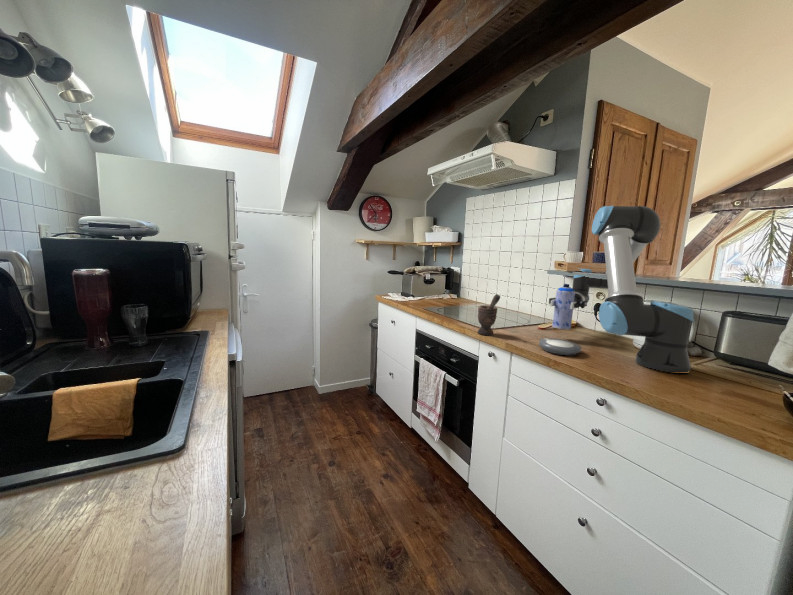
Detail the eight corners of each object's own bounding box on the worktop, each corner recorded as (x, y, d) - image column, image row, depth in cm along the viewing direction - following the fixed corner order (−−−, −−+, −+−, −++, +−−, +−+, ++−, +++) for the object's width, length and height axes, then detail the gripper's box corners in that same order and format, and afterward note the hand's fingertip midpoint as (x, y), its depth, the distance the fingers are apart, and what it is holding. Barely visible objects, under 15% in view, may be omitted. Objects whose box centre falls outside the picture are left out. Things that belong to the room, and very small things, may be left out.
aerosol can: (575, 329, 138) (580, 285, 136) (562, 329, 136) (567, 285, 133) (560, 325, 146) (565, 283, 143) (547, 325, 143) (552, 283, 140)
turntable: (589, 351, 120) (590, 347, 120) (561, 354, 115) (562, 350, 115) (556, 340, 134) (557, 337, 134) (530, 343, 128) (531, 339, 128)
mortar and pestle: (504, 336, 143) (508, 294, 140) (493, 339, 138) (497, 295, 135) (483, 330, 152) (487, 290, 149) (472, 332, 147) (475, 291, 144)
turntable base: (582, 354, 121) (583, 351, 121) (560, 357, 117) (561, 353, 117) (556, 345, 132) (557, 342, 132) (536, 347, 128) (536, 344, 128)
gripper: (597, 311, 146) (586, 316, 129) (551, 304, 160) (536, 309, 143) (599, 295, 145) (588, 299, 128) (553, 290, 159) (538, 293, 142)
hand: (561, 304), depth 136 cm, fingers closed on aerosol can, 7 cm apart
